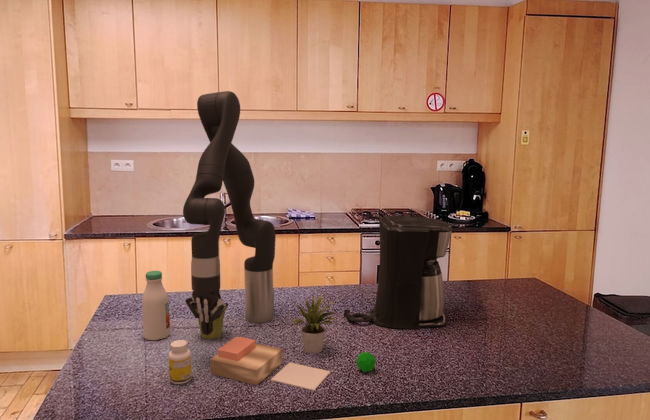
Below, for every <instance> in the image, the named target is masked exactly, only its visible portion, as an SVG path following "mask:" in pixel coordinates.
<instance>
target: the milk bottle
mask: <svg viewBox="0 0 650 420" xmlns="http://www.w3.org/2000/svg"><path fill="white" fill-rule="evenodd" d="M162 280H163V273H162V271H161V270H151V271H147V272H146V273H145V281H146V284H145V289H144V292H143V293H142V297H141V315H142V316H141V317H142V330H143V331H142V333H143V337H144V339H145V340H147V339H148V340H147V341H160V340H159V339H161V340H163V338H164V339H167V338H168V337H169V336H170V334H171V322H170V321H171V320H170V319H171V318H170V303H169V295H168V293H167V290H166V289H165V287H164V284H163V282H162Z"/></svg>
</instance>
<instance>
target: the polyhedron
mask: <svg viewBox="0 0 650 420" xmlns="http://www.w3.org/2000/svg"><path fill="white" fill-rule="evenodd" d="M356 359H357V360H356V363H355V364H356V366H357V368H358V369H359V370H360V371H362V372H364V373H367V372H368V373H369V372H371V371H372V370H373V369H375V366H376V362H377V361H376V358H375V356H374V355H372V353H370V352H367V351H366V352H364V351H363V352H361V353H360V354H358V356H357V358H356Z"/></svg>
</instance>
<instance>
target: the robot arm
mask: <svg viewBox="0 0 650 420" xmlns="http://www.w3.org/2000/svg"><path fill="white" fill-rule="evenodd" d="M196 103H197V104H196V107H197V108H196V109H197V113H198V117H199V119H200V120H199V121H200V122H201V124H202V125H201V126H202V127H203V129H204V132H205V134H206V136H207V139H208V141H209V143H208V145H207V147H206V148H205V149H204V150H203V152H202V154H201V156H200V158H199V161H198V165H197V170H196V176H195V181H194V182H193V185H192V188H191V189H190V193H189V194H188V195H187V198H186V200H185V202H184V205H183V210H182V216H183V218H184V220H185V222H186V223H187V224H190V225H199V226H200V225H201V226H202V225H204V226H206V225H207V226H209V228H208V230H207V231H201V232H198V233H195V234H193V235H192V236H191V240H190V241H191V260H190V272H191V274H190V275H191V277H190V278H191V283H190V284H191V290H192V293H191V296H190V297H188V298H186V299H185V300H184V301H185V304H186V305H187V307H188V308H189V310H190V312H191V314H192V315H193V316H194V318H195V319H198V318H199V319H200V321H201V330H202V332H203V334H204V335H209V334H211V333H212V332H213V321H215V320H216V319H218V318H219V317H220V316H221V315H222V313H223V312H224V311H225V309H226V308H228V307H229V303H228V302H224V301H223V300H222V296H221V293H220V290H221V263H220V261H221V260H220V247H219V246H220V245H219V244H220V243H219V242H220V234H221V228H222V225H223V222H224V219H225V215H226V207H225V204H224V202H223V201H222V200H221V199H220V198H215V197H206V196H209V195H212V194H213V195H214V194H216V193H219V192H220V191H221V190H222V187H223V185H224V188H225V190H226V193H227V196H228V199H229V203H230V205H231V210H232V214H233V218H234V222H235V229H236V232H237V237H238V239H239V242H240V243H241V244H242V245H243V246H245V247H249V248H255V249H254V250H255V251H254V256H250V257H247V258H246V259H245V260H244V263H243V264H244V265H243V266H244V268H243V269H244V304H245V305H244V307H245V309H244V311H245V313H244V314H245V316H244V317H245V320H246V322H249V323H254V324H261V323H262V324H264V323H268V322H270V321H272V320H273V319H274V315H275V289H274V273H273V272H274V269H273V267H274V262H275V261H274V260H275V257H276V256H275V255H276V229H275V226H274V224H273V223H272V222H271V221H268V220H264V219H257V218H255V217H254V215H253V214H254V213H253V211H252V207H251V199H252V196H253V193H254V189H255V177H254V174H253V170H252V167H251V164H250V161H249V160H248V158H247V157H246V156H245V155H244V154H243V153H242V151H241V150H239V149H238V148H237V147H236V146H235V145H234V144H233V143H232V142H233V139H234V136H235V133H236V129H237V127H238V124H239V120H240V116H241V103H240V100H239V98H238V96H237V94H235V92H233V91H230V90H228V91H224V90H223V91H217V92H211V93H205V94H200V96H199V97H198V98H197V102H196ZM216 305H217V307H216ZM215 308H217V310H216V311H215ZM196 310H197V311H196ZM226 310H227V309H226ZM197 312H198V313H197ZM225 312H226V311H225Z"/></svg>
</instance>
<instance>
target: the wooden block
mask: <svg viewBox="0 0 650 420" xmlns="http://www.w3.org/2000/svg"><path fill="white" fill-rule="evenodd" d="M282 364H283V348H280V347H276V346H271V345H270V346H269V345H266V344H261V343H256V347H255V348H254V349H253V350H251V351H250V352H249V353H248V354H246V355H245V356H244V357H242V358H241V359H240V360H238V361H234V360H230V359H225V358H221V357H218V353H217V354H215V355H214V356H213V357H211V358H210V359H209V369H210V370H209V371H210V372H209V373H210V375H215V376H218V377H223V378H227V379H231V380H235V381H238V382H242V383H246V384H250V385H254V386H258V385H259V384H260V383H261V382H262V381H263V380H265V379H266V378H267V377H268V376H269V375H270V374H271V373H273V372H274V371H275V370H276V369H277V368H278V367H279V366H281V365H282Z"/></svg>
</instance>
